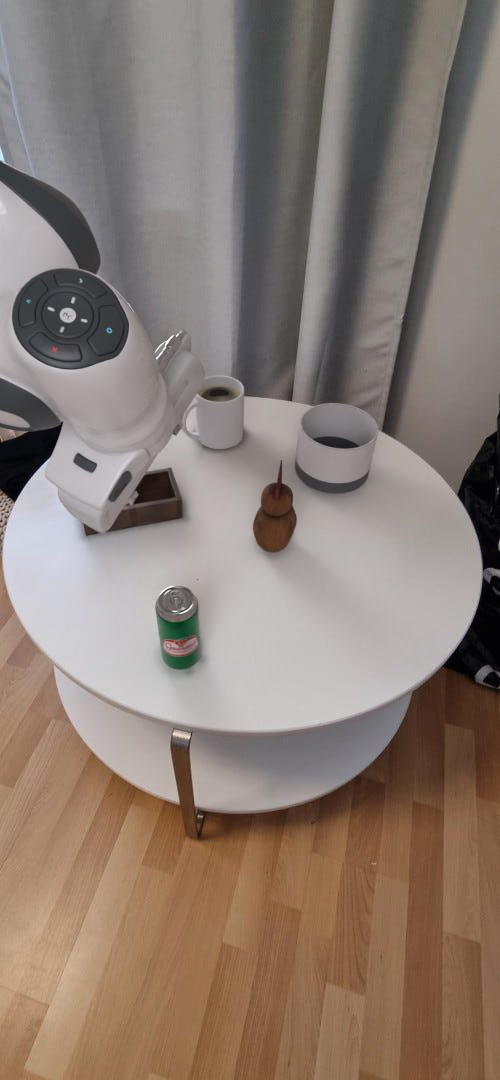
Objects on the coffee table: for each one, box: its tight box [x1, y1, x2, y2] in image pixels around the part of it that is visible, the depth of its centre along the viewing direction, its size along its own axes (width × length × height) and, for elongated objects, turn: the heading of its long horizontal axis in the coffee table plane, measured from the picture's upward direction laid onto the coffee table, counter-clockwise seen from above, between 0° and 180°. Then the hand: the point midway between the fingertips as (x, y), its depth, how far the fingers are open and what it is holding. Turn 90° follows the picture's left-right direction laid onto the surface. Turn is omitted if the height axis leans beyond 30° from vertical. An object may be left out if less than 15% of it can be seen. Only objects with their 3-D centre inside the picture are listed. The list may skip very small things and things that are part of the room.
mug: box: [181, 374, 245, 450], centre depth 106 cm, size 11×10×10 cm
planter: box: [294, 402, 380, 494], centre depth 99 cm, size 13×13×10 cm
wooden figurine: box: [252, 459, 298, 553], centre depth 86 cm, size 7×6×15 cm
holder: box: [82, 467, 184, 537], centre depth 94 cm, size 15×8×4 cm, turn 107°
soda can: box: [154, 585, 202, 671], centre depth 73 cm, size 5×5×12 cm
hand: (151, 462), depth 66 cm, fingers open, 8 cm apart
